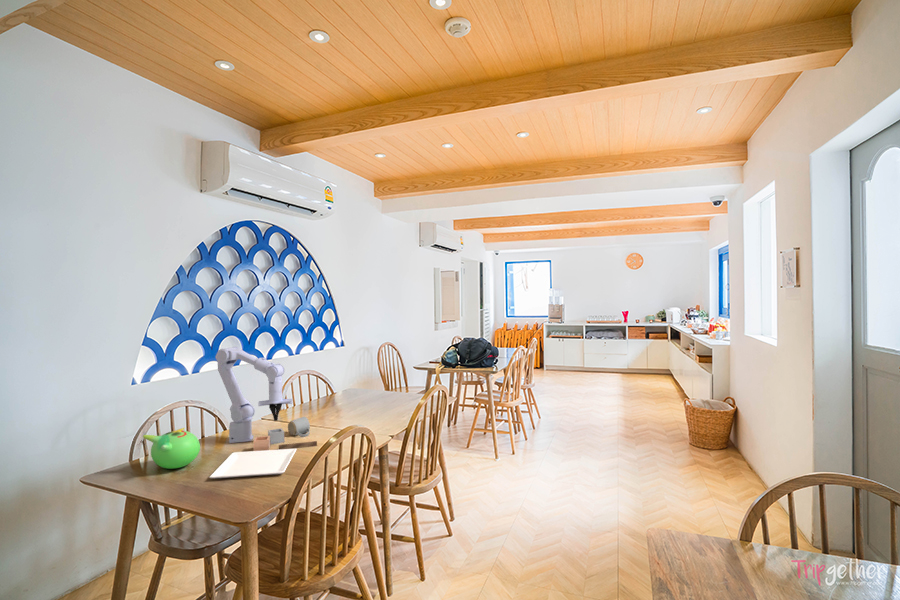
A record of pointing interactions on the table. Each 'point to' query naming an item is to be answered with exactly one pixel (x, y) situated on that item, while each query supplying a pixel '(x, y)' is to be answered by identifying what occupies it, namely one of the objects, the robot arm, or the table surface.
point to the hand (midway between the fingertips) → (275, 420)
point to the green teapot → (174, 448)
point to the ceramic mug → (299, 427)
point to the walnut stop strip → (298, 445)
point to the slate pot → (276, 436)
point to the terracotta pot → (262, 443)
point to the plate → (254, 463)
